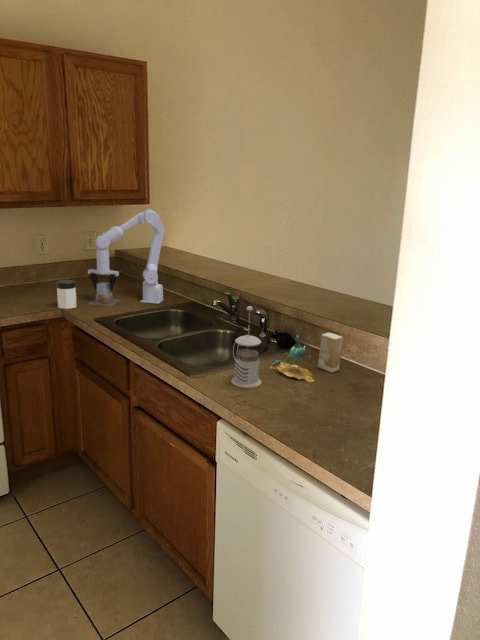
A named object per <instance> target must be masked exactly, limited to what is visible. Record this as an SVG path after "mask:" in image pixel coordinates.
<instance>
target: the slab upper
mask: <svg viewBox="0 0 480 640" xmlns="http://www.w3.org/2000/svg"><path fill="white" fill-rule="evenodd" d="M113 295H114V294H113V292H111V294H108V295H99V294H97V293H96V294H95V299H104V300H108V299H110V298H112V297H113V298H114V296H113Z"/></svg>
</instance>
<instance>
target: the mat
mask: <svg viewBox="0 0 480 640" xmlns="http://www.w3.org/2000/svg"><path fill="white" fill-rule="evenodd" d="M120 301H121V299H115V298H113V301H112V302H110V303H109V304H103V303H96V298H95V299H94V300H92V301H90V302H88V303H87V305H95V306H104V307H107V306H108V307H109V306H110V307H113V306H114V305H115V304H117V303H118V302H120Z"/></svg>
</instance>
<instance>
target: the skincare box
mask: <svg viewBox="0 0 480 640" xmlns="http://www.w3.org/2000/svg"><path fill="white" fill-rule="evenodd" d="M343 339H344V336H341V335H338V334H336V333H333V332H324V333H321V338H320V346H319V353H318V355H319V356H318V363H317V367H318V368H319V369H322V370H325V371H327V372H330V373H334V372H337V371H339V369H340V363H341V355H342V348H343V347H342V346H343Z"/></svg>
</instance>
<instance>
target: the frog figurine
mask: <svg viewBox="0 0 480 640" xmlns="http://www.w3.org/2000/svg"><path fill="white" fill-rule="evenodd" d="M295 340H296V343H295V344H294V345H293V346H292V347H291V348H290V351H289V353H284V357H283V360H282V359H279V356H277V359H275V360H274V361H273V362H272V363H271V365H270V369H271V370H275V371H278V372H280V373H281V374H283V375H284V376H287V377H289V378H294V379H298V380H300V381H301V380H303V381H306V382H308V383H312V382H315V379H314V378H313V374H312V373H311V372H310V371H309V369H306V368H302V367H301V366H300V363H299V361H300V360H301V361H302V360H303V358H304V357H305V358H306V359H308V360H309V361H311V358H312V357H311V355H307V352H306V353H305V351H306V349H307V344H306V343H303V344H301V343H300V336H299V335H298V334H296V335H295ZM286 355H287V356H286ZM285 358H286V359H287V362H288V363H286V362H285ZM289 358H291V360H290V361H289ZM292 361H293V362H295V363H296V364H291V363H290V362H292Z"/></svg>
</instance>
